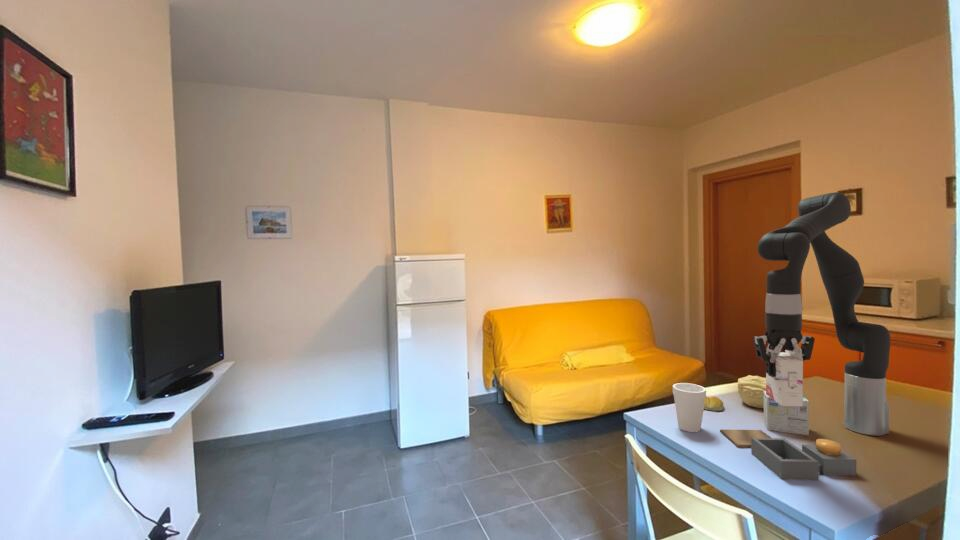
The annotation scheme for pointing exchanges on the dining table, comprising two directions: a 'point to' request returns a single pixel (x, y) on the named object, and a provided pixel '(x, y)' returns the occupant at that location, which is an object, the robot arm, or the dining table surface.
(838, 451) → the orange dome button
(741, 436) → the walnut pad
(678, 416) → the foam cup
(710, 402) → the bread roll
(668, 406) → the dining table surface
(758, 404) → the sculpture
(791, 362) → the ink cartridge box
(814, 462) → the cartridge dock
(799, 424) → the light bulb box
